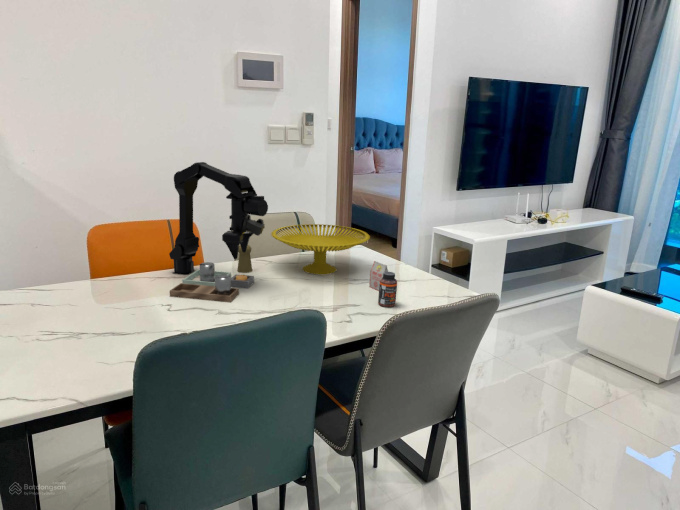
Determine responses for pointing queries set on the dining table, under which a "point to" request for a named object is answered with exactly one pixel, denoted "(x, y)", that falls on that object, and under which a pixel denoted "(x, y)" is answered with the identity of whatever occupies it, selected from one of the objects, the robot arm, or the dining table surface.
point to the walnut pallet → (201, 292)
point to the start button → (241, 277)
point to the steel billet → (207, 272)
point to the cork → (244, 260)
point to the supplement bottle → (387, 290)
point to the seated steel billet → (223, 285)
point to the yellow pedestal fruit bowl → (320, 243)
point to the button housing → (242, 282)
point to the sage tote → (190, 281)
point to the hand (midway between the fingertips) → (239, 255)
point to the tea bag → (377, 274)
